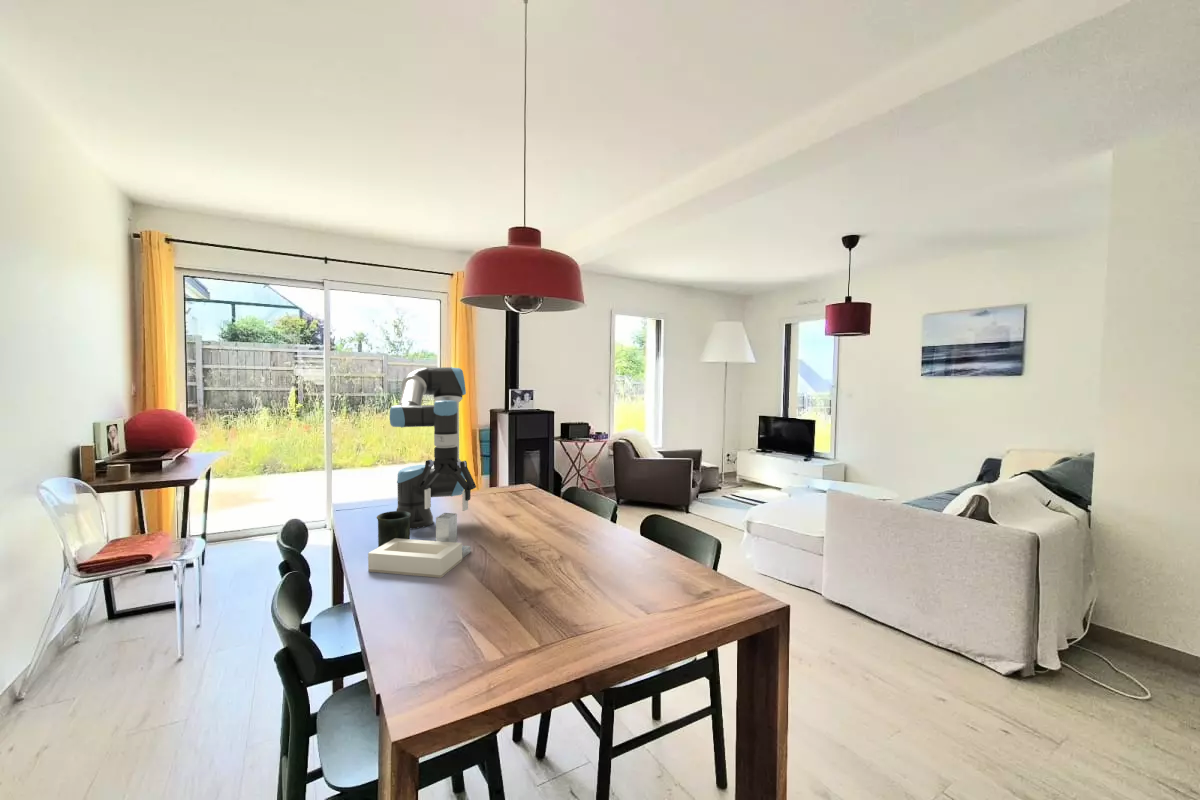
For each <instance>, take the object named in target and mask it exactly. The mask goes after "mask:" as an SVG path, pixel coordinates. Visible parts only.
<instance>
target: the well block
mask: <svg viewBox="0 0 1200 800" xmlns="http://www.w3.org/2000/svg"><path fill="white" fill-rule="evenodd" d="M462 545H463V542H457V543H455V542H441V541H436V540H424V539H423V540H422V539H411V538H410V539H399V538H394V539H393V540H391V541H389V542H387V543H385V544H384V545H382V546H380V547H378V546H377V548H375V549H373V550H371V551H369V552H368V553H367V555H368V557H367V561H368V562H367V563H368V567H367V569H368V571H367V572H368V573H369V572H370V573H381V574H389V575H390V574H392V575H403V576H415V577H428V578H437V579H441V578H443V577H444V576H445V575H446V574H448V573H449V572H450V571H451V570H452V569H454V568H455V567H456V566H457V565H459V564H460V563H461V562H462V561H463V558H462Z"/></svg>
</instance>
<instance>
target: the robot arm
mask: <svg viewBox="0 0 1200 800" xmlns="http://www.w3.org/2000/svg"><path fill="white" fill-rule="evenodd" d="M401 390H402V393H401V395H400V396H401V397H400V400H399V403H398V404H397V405H392V406H390V408H389V424H390V426H391V427H392V428H420V427H423V428H424V427H425V428H426V427H434V431H433V432H434V433H433V436H434V437H433V439H434V441H433V444H434V446H435V447H434V449H433V455H434V456H433V457H434V460H433V459H427V460H425V463H424V464H417V465H416V464H415V465H412V466H407V467H404V468H401V469H400V470H399V471H398V473H397V480H396V484H397V508H396V510H395V511H406V512H409V513H411V516H410V530H413V529H414V530H415V529H421V528H426V527H428V526H430V525H432V524H433V523H434V516H433V513H432V511H431V507H432V501H431V500H432V498H443V497H445V498H446V497H455V496H456V497H457V496H462V497H461V498H462V512H465V511H467V510H469V501H470V500H471V497H472V496H471V494H472V493H471V490H474V489H476V488H477V485H476V482H475V481H474V479H473V476H472V475H471V472H470V470H469V467H468V463H467V460H461V459H460V410H459V409H460V408H459V407H460V402H461V401H462V400H463V396H464V395H467V394H466V393H467V389H466V382H465V376H464V372H463V369H462V368H460V367H452V366H450V367H429V366H426V367H420V368H418V369H415V370H413V371H411V372H409V373H407V375H405V377H404V378H403V380H402V382H401ZM425 395H426V396H430V395H431V396H433V400H434V403H433V404H429V405H427V404H423V403H422V402H423V396H425ZM432 467H433V468H432Z"/></svg>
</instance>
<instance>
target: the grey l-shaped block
mask: <svg viewBox="0 0 1200 800" xmlns="http://www.w3.org/2000/svg"><path fill="white" fill-rule="evenodd" d="M457 515H458V514H457V513H456V512H453V513H452V512H443V513H442V514H440V515H438V516H436V517H435V541H441V542H455V543H458V516H457ZM471 550H472V549H471V545H463V544H462V559H464V558H465V557H466V556H467V555H469V554H470V553H471Z"/></svg>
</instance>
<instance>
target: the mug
mask: <svg viewBox="0 0 1200 800" xmlns="http://www.w3.org/2000/svg"><path fill="white" fill-rule="evenodd" d="M410 516H411V513H409V512H406V511H396V510H393V511H387V512H382V513H380V514H378V515H377V516H376V519H377V534H378V535H377V538H378V539H377V545H378V546H377V548H378V547H380V546H382V545H384V544H385V543H387V542H389V541H391V540H393V539H394V538H399V539H411V536H410V535H411V533H410V532H411V529H410Z"/></svg>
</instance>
